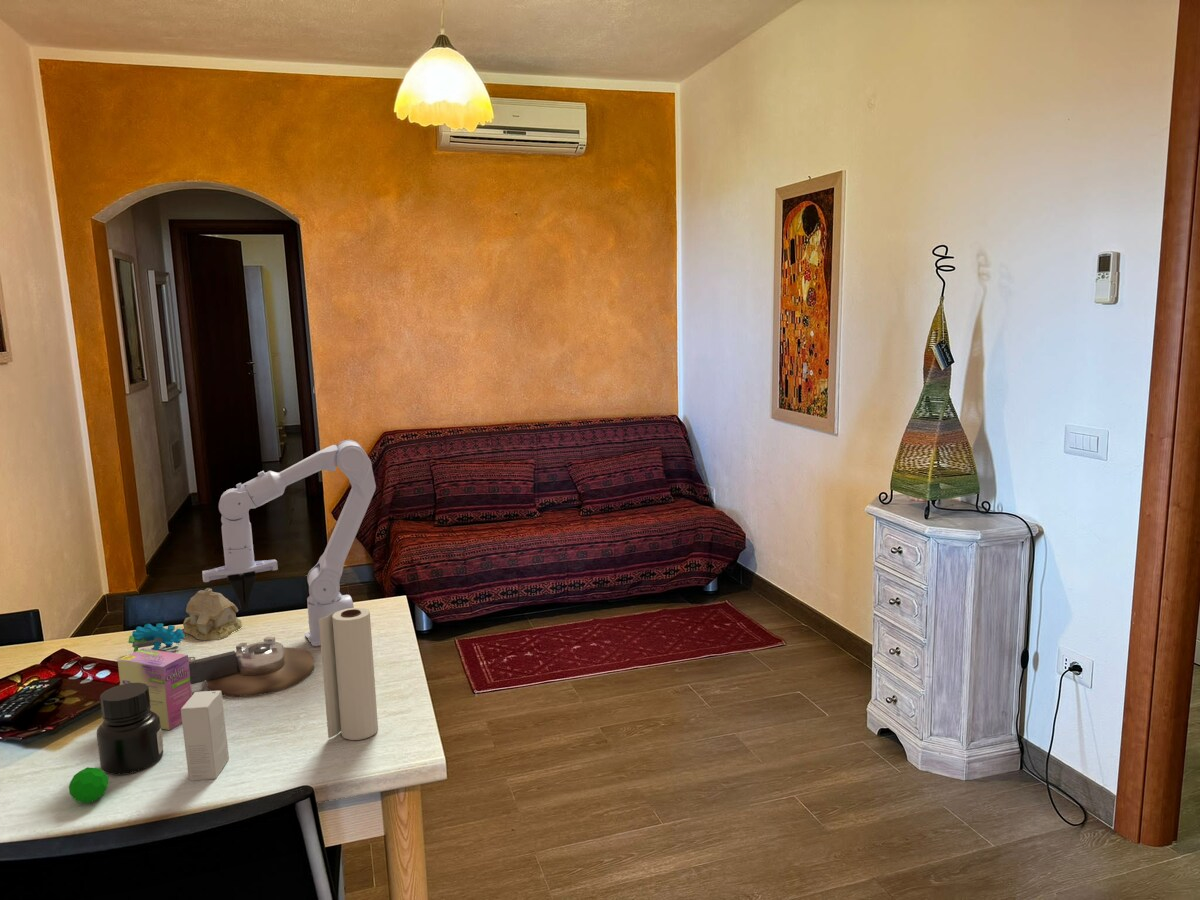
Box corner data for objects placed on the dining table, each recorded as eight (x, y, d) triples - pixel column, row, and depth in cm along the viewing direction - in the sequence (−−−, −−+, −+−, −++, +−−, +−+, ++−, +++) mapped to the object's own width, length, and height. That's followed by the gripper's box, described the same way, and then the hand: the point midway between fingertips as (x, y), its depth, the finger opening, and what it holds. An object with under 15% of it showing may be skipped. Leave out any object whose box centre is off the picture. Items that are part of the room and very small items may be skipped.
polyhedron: (85, 812, 123) (81, 782, 122) (63, 805, 125) (59, 775, 124) (117, 794, 127) (113, 765, 126) (96, 787, 129) (92, 758, 128)
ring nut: (277, 653, 175) (275, 630, 174) (290, 667, 168) (288, 643, 167) (182, 676, 165) (179, 652, 164) (191, 692, 158) (189, 667, 157)
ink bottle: (177, 754, 139) (169, 685, 137) (128, 781, 131) (119, 708, 129) (137, 743, 143) (129, 675, 141) (86, 769, 135) (77, 698, 133)
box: (195, 716, 152) (188, 653, 150) (169, 731, 147) (162, 666, 145) (150, 708, 155) (143, 647, 153) (123, 722, 150) (116, 659, 148)
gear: (193, 636, 186) (170, 617, 178) (189, 661, 183) (165, 643, 175) (144, 644, 186) (118, 625, 178) (139, 670, 183) (112, 652, 175)
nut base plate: (301, 646, 183) (301, 639, 183) (325, 679, 166) (324, 671, 166) (200, 668, 172) (199, 661, 172) (214, 706, 156) (213, 697, 155)
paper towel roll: (384, 725, 147) (376, 607, 143) (367, 742, 141) (359, 619, 137) (346, 722, 148) (337, 605, 145) (328, 739, 142) (318, 617, 139)
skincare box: (202, 761, 136) (194, 691, 134) (229, 759, 137) (222, 689, 135) (187, 781, 130) (179, 708, 128) (216, 779, 131) (208, 706, 129)
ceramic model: (253, 626, 196) (249, 585, 194) (212, 644, 186) (207, 600, 185) (211, 618, 202) (207, 578, 201) (169, 634, 192) (164, 592, 191)
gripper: (270, 536, 185) (276, 596, 187) (198, 547, 178) (204, 609, 180) (277, 543, 179) (282, 604, 182) (202, 555, 172) (209, 619, 174)
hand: (244, 607), depth 180 cm, fingers closed
